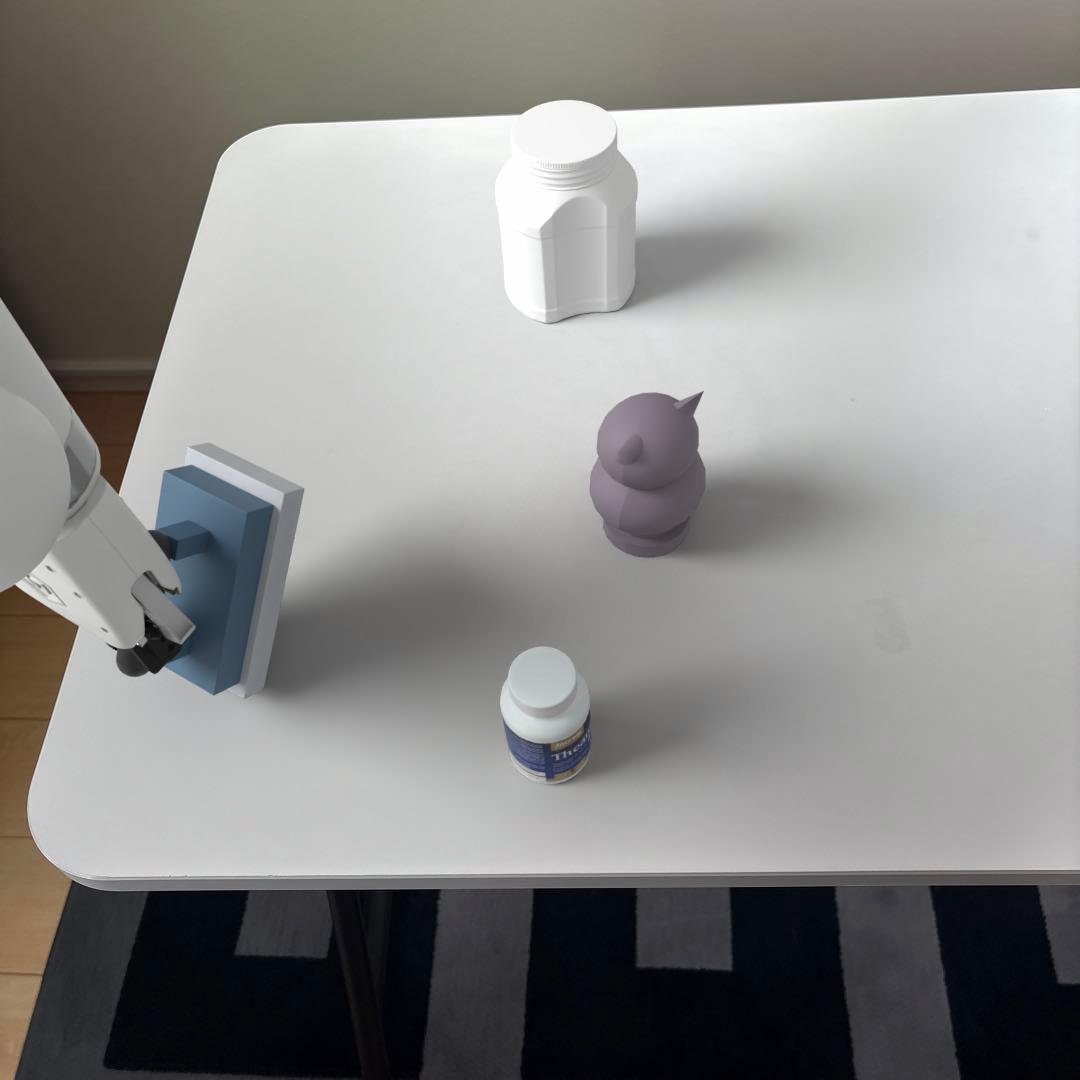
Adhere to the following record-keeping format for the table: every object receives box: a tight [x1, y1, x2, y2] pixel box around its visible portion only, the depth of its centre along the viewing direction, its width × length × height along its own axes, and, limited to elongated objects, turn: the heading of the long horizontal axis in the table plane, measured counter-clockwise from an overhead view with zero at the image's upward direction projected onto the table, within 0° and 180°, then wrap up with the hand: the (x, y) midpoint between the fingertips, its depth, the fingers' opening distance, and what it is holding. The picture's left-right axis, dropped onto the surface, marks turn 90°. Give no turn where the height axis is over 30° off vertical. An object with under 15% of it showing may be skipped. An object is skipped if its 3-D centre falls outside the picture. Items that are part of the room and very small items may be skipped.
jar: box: [494, 99, 639, 324], centre depth 88 cm, size 12×10×15 cm
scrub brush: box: [115, 442, 305, 700], centre depth 67 cm, size 15×8×9 cm
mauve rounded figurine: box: [588, 390, 707, 558], centre depth 74 cm, size 8×8×12 cm
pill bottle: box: [499, 645, 592, 785], centre depth 65 cm, size 5×5×10 cm
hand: (149, 641), depth 66 cm, fingers closed on scrub brush, 2 cm apart
